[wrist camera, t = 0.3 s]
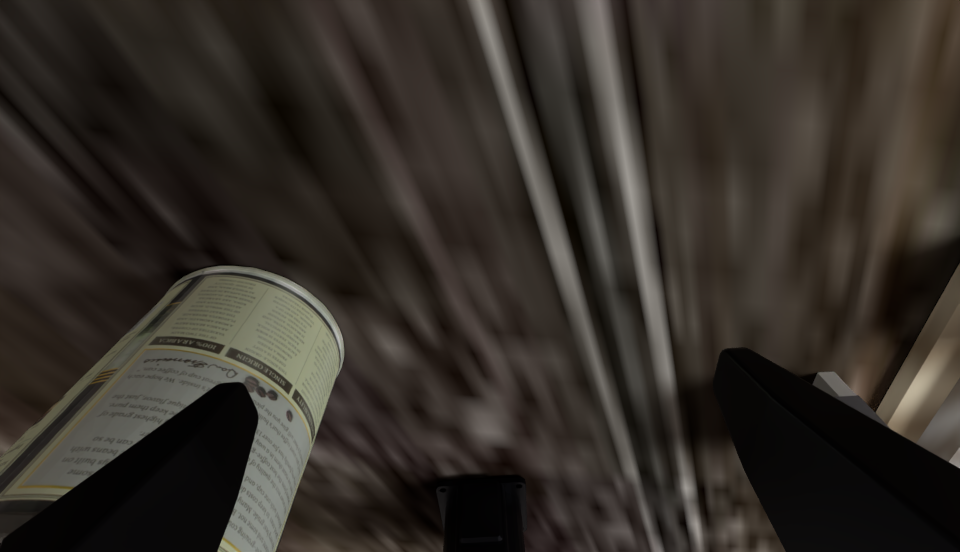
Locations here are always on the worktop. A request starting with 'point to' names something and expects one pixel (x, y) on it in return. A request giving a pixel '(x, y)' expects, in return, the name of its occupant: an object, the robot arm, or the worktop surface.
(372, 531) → the worktop surface
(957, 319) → the rail
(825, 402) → the robot arm
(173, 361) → the grey green cylinder
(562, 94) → the worktop surface
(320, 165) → the worktop surface
